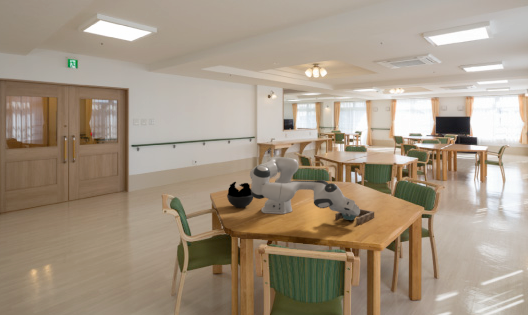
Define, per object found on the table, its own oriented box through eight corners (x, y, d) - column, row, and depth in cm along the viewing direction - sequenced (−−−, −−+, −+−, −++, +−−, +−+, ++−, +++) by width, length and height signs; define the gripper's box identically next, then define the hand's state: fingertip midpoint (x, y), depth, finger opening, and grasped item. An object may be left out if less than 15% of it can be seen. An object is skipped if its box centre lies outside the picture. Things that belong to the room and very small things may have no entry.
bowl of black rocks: (257, 209, 240) (256, 184, 238) (230, 211, 234) (229, 186, 232) (249, 203, 259) (249, 179, 257) (224, 205, 253) (224, 181, 251)
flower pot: (345, 217, 219) (346, 204, 219) (358, 220, 214) (359, 206, 213) (339, 219, 212) (340, 205, 212) (352, 221, 207) (353, 207, 207)
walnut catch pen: (358, 224, 203) (358, 218, 202) (335, 219, 214) (335, 213, 214) (374, 217, 218) (374, 211, 218) (351, 213, 229) (352, 207, 229)
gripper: (323, 204, 207) (332, 216, 215) (352, 209, 192) (360, 222, 200) (327, 196, 209) (335, 208, 217) (356, 201, 195) (364, 213, 203)
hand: (348, 215), depth 209 cm, fingers closed
